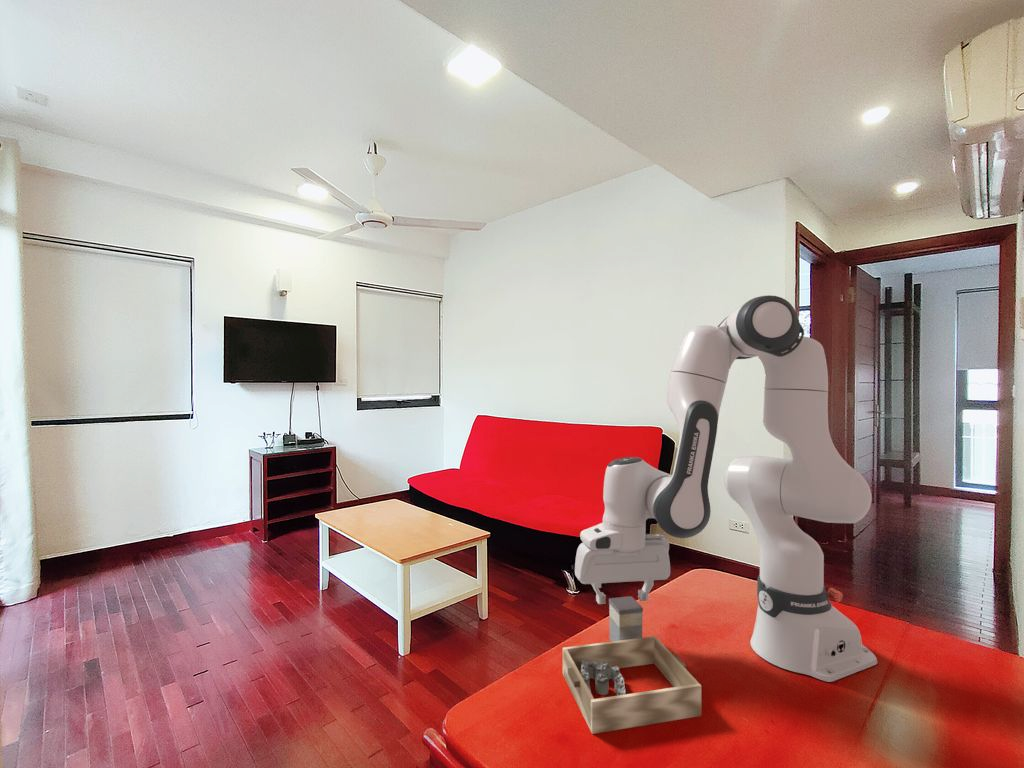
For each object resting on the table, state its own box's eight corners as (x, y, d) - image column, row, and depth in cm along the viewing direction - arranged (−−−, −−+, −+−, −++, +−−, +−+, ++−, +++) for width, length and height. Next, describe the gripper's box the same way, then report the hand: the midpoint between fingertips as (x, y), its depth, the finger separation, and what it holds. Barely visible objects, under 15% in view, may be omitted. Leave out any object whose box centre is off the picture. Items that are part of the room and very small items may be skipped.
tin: (631, 635, 101) (631, 596, 100) (642, 648, 96) (642, 607, 95) (608, 637, 100) (608, 598, 99) (619, 652, 94) (619, 610, 94)
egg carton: (627, 723, 75) (627, 698, 75) (580, 718, 76) (580, 694, 76) (622, 680, 86) (622, 658, 86) (580, 676, 87) (581, 655, 87)
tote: (659, 660, 91) (659, 635, 91) (706, 715, 77) (706, 684, 77) (558, 674, 87) (558, 648, 87) (586, 734, 73) (586, 703, 72)
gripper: (661, 529, 103) (660, 592, 103) (573, 532, 99) (571, 597, 99) (677, 538, 97) (675, 605, 96) (583, 541, 93) (581, 611, 93)
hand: (622, 601), depth 98 cm, fingers open, 8 cm apart
